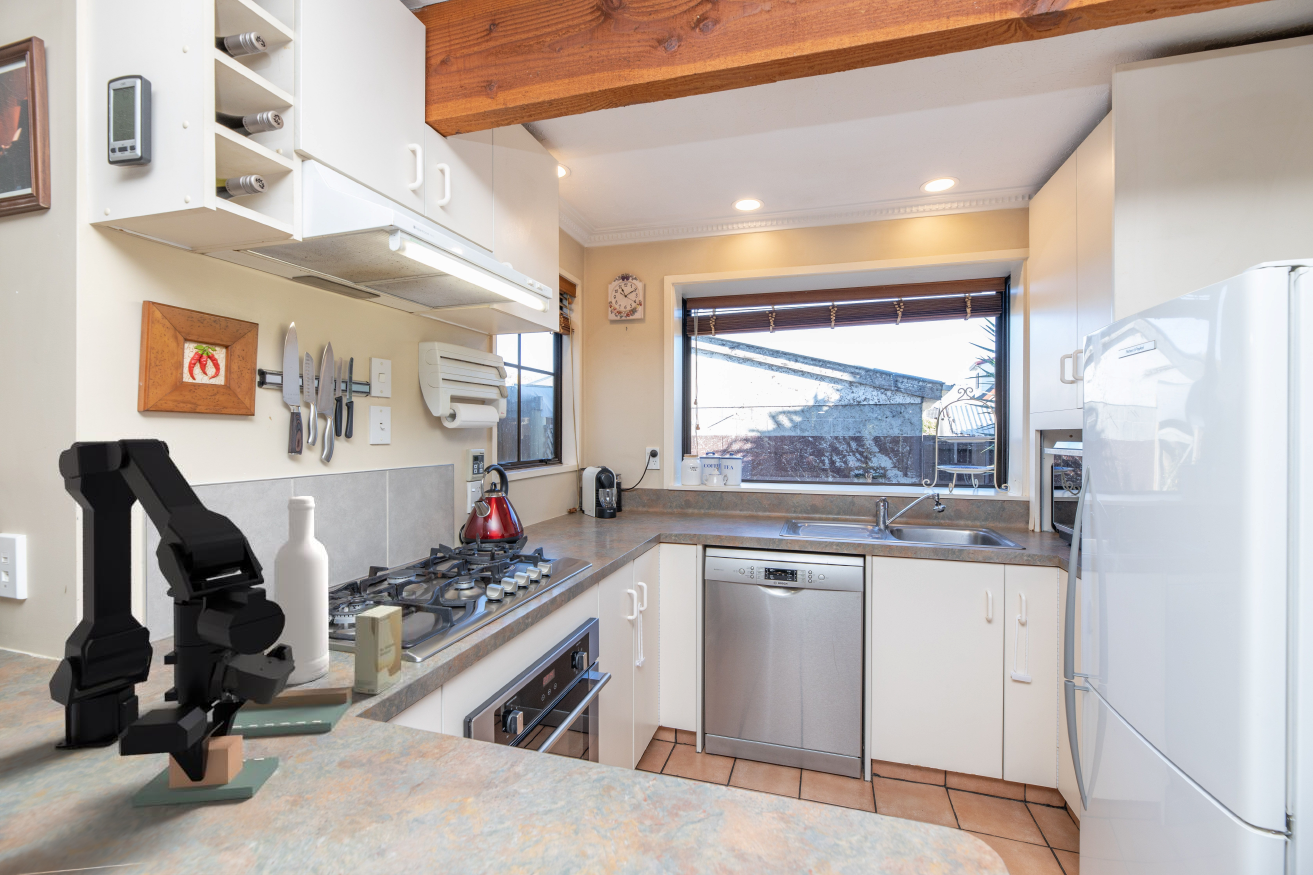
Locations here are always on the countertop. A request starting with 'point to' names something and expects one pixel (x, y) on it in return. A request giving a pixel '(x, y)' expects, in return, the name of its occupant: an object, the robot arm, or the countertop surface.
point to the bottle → (303, 593)
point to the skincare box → (377, 649)
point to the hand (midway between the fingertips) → (206, 771)
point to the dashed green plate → (294, 712)
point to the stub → (210, 777)
